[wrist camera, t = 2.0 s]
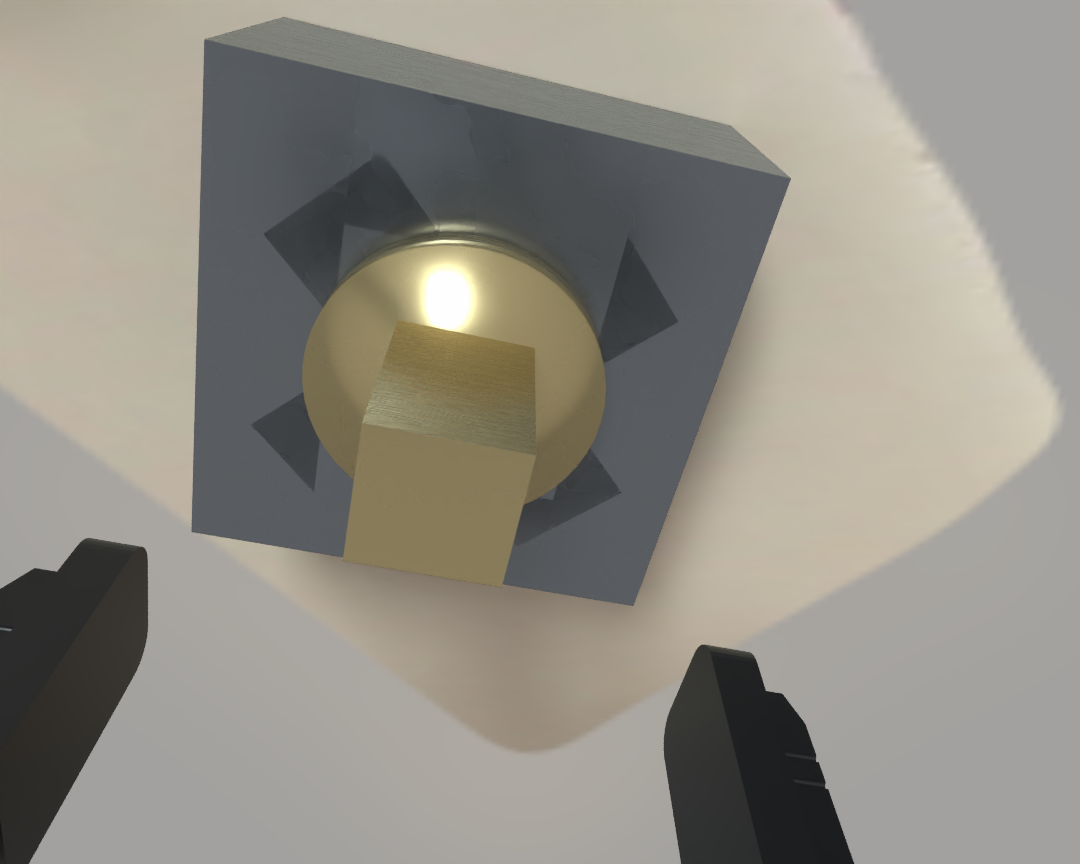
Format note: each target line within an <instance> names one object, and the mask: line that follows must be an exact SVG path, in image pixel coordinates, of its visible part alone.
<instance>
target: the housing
mask: <svg viewBox="0 0 1080 864" xmlns="http://www.w3.org/2000/svg"><path fill="white" fill-rule="evenodd" d="M790 180H791V178H790V177H789V176H788V175H786V174H785V173H784V172H783V171H782V170H781V169H780V168H778V167H777V166H776V165H775V164H774V163H773V162H772V161H770V160H769V159H768V158H767V157H766V156H765V155H764V154H762V153H761V152H760V151H759V150H758V149H757V148H756V147H754V146H753V145H752V144H751V143H750V142H749V141H748V140H746V139H745V138H744V137H743V136H742V135H741V134H740V133H738V132H737V131H736V130H735V129H734V128H733V127H732V126H729V125H725V124H721V123H717V122H713V121H709V120H704V119H700V118H696V117H692V116H688V115H684V114H680V113H676V112H671V111H667V110H663V109H659V108H655V107H651V106H647V105H643V104H639V103H634V102H630V101H626V100H622V99H618V98H614V97H610V96H606V95H602V94H597V93H593V92H589V91H585V90H581V89H577V88H573V87H569V86H564V85H560V84H556V83H552V82H548V81H544V80H540V79H536V78H532V77H527V76H523V75H519V74H515V73H511V72H507V71H503V70H499V69H495V68H490V67H486V66H482V65H478V64H474V63H470V62H466V61H462V60H457V59H453V58H449V57H445V56H441V55H437V54H433V53H429V52H425V51H420V50H416V49H412V48H408V47H404V46H400V45H396V44H392V43H388V42H383V41H379V40H375V39H371V38H367V37H363V36H359V35H355V34H351V33H346V32H342V31H338V30H334V29H330V28H326V27H322V26H318V25H313V24H309V23H305V22H301V21H297V20H293V19H289V18H285V17H282V18H279V19H275V20H272V21H268V22H265V23H261V24H257V25H254V26H250V27H247V28H243V29H240V30H236V31H232V32H229V33H225V34H222V35H218V36H215V37H211V38H207V39H205V41H204V79H203V117H202V155H201V193H200V231H199V270H198V308H197V346H196V384H195V422H194V460H193V498H192V532H195V533H201V534H207V535H213V536H219V537H225V538H231V539H237V540H243V541H249V542H255V543H261V544H267V545H273V546H279V547H285V548H291V549H297V550H303V551H308V552H314V553H320V554H326V555H332V556H338V557H343V555H344V548H345V540H346V533H347V526H348V519H349V512H350V505H351V498H352V490H353V483H354V479H353V478H351V477H350V476H349V475H348V474H347V473H346V472H345V471H344V470H343V469H342V468H341V467H340V466H339V465H338V464H337V463H336V462H335V461H334V459H333V458H332V457H331V456H330V454H329V453H328V452H327V450H326V449H325V448H324V446H323V444H322V443H321V441H320V439H319V437H318V436H317V434H316V432H315V430H314V427H313V425H312V423H311V420H310V418H309V415H308V411H307V408H306V404H305V400H304V393H303V385H302V367H303V359H304V353H305V348H306V344H307V341H308V338H309V335H310V332H311V329H312V327H313V325H314V324H315V322H316V320H317V318H318V316H319V314H320V312H321V310H322V309H323V307H324V305H325V303H326V302H327V300H328V298H329V296H330V295H331V293H332V292H333V291H334V289H335V288H336V287H337V285H338V284H339V282H340V281H341V280H342V279H343V278H344V277H345V276H346V275H347V274H348V273H349V272H350V271H351V270H352V269H353V268H354V267H355V266H357V265H358V264H359V263H360V262H362V261H363V260H364V259H366V258H367V257H368V256H370V255H372V254H374V253H375V252H377V251H379V250H381V249H383V248H384V247H386V246H389V245H391V244H394V243H396V242H399V241H402V240H404V239H408V238H412V237H416V236H421V235H426V234H435V233H444V232H446V233H469V234H475V235H482V236H487V237H491V238H494V239H498V240H501V241H505V242H507V243H510V244H512V245H514V246H517V247H519V248H521V249H524V250H526V251H527V252H529V253H531V254H532V255H534V256H536V257H537V258H539V259H541V260H542V261H544V262H545V263H546V264H547V265H549V266H550V267H551V268H553V269H554V270H555V271H556V272H558V273H559V274H560V275H561V277H562V278H563V279H564V280H565V281H566V282H567V283H568V284H569V285H570V286H571V287H572V288H573V290H574V291H575V292H576V294H577V295H578V296H579V298H580V299H581V300H582V302H583V304H584V305H585V307H586V309H587V311H588V313H589V315H590V316H591V318H592V321H593V324H594V326H595V329H596V332H597V334H598V339H599V343H600V348H601V352H602V358H603V363H604V369H605V381H606V396H605V407H604V411H603V416H602V420H601V424H600V426H599V429H598V432H597V434H596V437H595V439H594V441H593V443H592V445H591V446H590V448H589V450H588V452H587V454H586V455H585V456H584V458H583V459H582V460H581V462H580V463H579V464H578V466H577V467H576V468H575V469H574V470H573V471H572V472H571V473H570V474H569V475H568V476H567V477H566V478H565V479H564V480H563V481H562V482H561V483H559V484H558V485H557V486H555V487H554V488H553V489H552V490H550V491H549V492H547V493H545V494H544V495H542V496H540V497H539V498H537V499H535V500H533V501H531V502H529V503H527V504H524V505H523V508H522V512H521V516H520V519H519V523H518V527H517V531H516V535H515V538H514V542H513V546H512V550H511V554H510V557H509V561H508V565H507V569H506V573H505V576H504V580H503V584H505V585H511V586H517V587H523V588H529V589H535V590H541V591H547V592H553V593H559V594H565V595H571V596H577V597H583V598H589V599H595V600H601V601H607V602H613V603H619V604H625V605H631V606H633V605H634V602H635V599H636V597H637V594H638V591H639V589H640V586H641V583H642V581H643V578H644V575H645V572H646V570H647V567H648V564H649V562H650V559H651V556H652V553H653V551H654V548H655V545H656V543H657V540H658V537H659V534H660V532H661V529H662V526H663V524H664V521H665V518H666V516H667V513H668V510H669V507H670V505H671V502H672V499H673V497H674V494H675V491H676V488H677V486H678V483H679V480H680V478H681V475H682V472H683V469H684V467H685V464H686V461H687V459H688V456H689V453H690V450H691V448H692V445H693V442H694V440H695V437H696V434H697V432H698V429H699V426H700V423H701V421H702V418H703V415H704V413H705V410H706V407H707V404H708V402H709V399H710V396H711V394H712V391H713V388H714V385H715V383H716V380H717V377H718V375H719V372H720V369H721V367H722V364H723V361H724V358H725V356H726V353H727V350H728V348H729V345H730V342H731V339H732V337H733V334H734V331H735V329H736V326H737V323H738V320H739V318H740V315H741V312H742V310H743V307H744V304H745V301H746V299H747V296H748V293H749V291H750V288H751V285H752V283H753V280H754V277H755V274H756V272H757V269H758V266H759V264H760V261H761V258H762V255H763V253H764V250H765V247H766V245H767V242H768V239H769V236H770V234H771V231H772V228H773V226H774V223H775V220H776V218H777V215H778V212H779V209H780V207H781V204H782V201H783V199H784V196H785V193H786V190H787V188H788V185H789V182H790Z"/></svg>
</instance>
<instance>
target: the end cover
mask: <svg viewBox="0 0 1080 864" xmlns="http://www.w3.org/2000/svg"><path fill="white" fill-rule="evenodd" d="M302 385H303V393H304V400H305V404H306V408H307V411H308V415H309V418H310V420H311V423H312V425H313V427H314V430H315V432H316V434H317V436H318V437H319V439H320V441H321V443H322V444H323V446H324V448H325V449H326V450H327V452H328V453H329V454H330V456H331V457H332V458H333V459H334V461H335V462H336V463H337V464H338V465H339V466H340V467H341V468H342V469H343V470H344V471H345V472H346V473H347V474H348V475H349V476H350V477H351V478H353V479H354V483H353V490H352V498H351V505H350V512H349V519H348V526H347V533H346V540H345V548H344V555H343V561H347V562H353V563H359V564H365V565H371V566H377V567H383V568H389V569H395V570H401V571H407V572H413V573H418V574H424V575H430V576H436V577H442V578H448V579H454V580H460V581H466V582H472V583H478V584H484V585H490V586H496V587H502V584H503V580H504V576H505V573H506V569H507V565H508V561H509V557H510V554H511V550H512V546H513V542H514V538H515V535H516V531H517V527H518V523H519V519H520V516H521V512H522V508H523V505H524V504H527V503H529V502H531V501H533V500H535V499H537V498H539V497H540V496H542V495H544V494H545V493H547V492H549V491H550V490H552V489H553V488H554V487H555V486H557V485H558V484H559V483H561V482H562V481H563V480H564V479H565V478H566V477H567V476H568V475H569V474H570V473H571V472H572V471H573V470H574V469H575V468H576V467H577V466H578V464H579V463H580V462H581V460H582V459H583V458H584V456H585V455H586V454H587V452H588V450H589V448H590V446H591V445H592V443H593V441H594V439H595V437H596V434H597V432H598V429H599V426H600V424H601V420H602V416H603V411H604V407H605V396H606V381H605V369H604V363H603V358H602V352H601V348H600V343H599V339H598V334H597V332H596V329H595V326H594V324H593V321H592V318H591V316H590V315H589V313H588V311H587V309H586V307H585V305H584V304H583V302H582V300H581V299H580V298H579V296H578V295H577V294H576V292H575V291H574V290H573V288H572V287H571V286H570V285H569V284H568V283H567V282H566V281H565V280H564V279H563V278H562V277H561V275H560V274H559V273H558V272H556V271H555V270H554V269H553V268H551V267H550V266H549V265H547V264H546V263H545V262H544V261H542V260H541V259H539V258H537V257H536V256H534V255H532V254H531V253H529V252H527V251H526V250H524V249H521V248H519V247H517V246H514V245H512V244H510V243H507V242H505V241H501V240H498V239H494V238H491V237H487V236H482V235H475V234H469V233H446V232H444V233H435V234H426V235H421V236H416V237H412V238H408V239H404V240H402V241H399V242H396V243H394V244H391V245H389V246H386V247H384V248H383V249H381V250H379V251H377V252H375V253H374V254H372V255H370V256H368V257H367V258H366V259H364V260H363V261H362V262H360V263H359V264H358V265H357V266H355V267H354V268H353V269H352V270H351V271H350V272H349V273H348V274H347V275H346V276H345V277H344V278H343V279H342V280H341V281H340V282H339V284H338V285H337V287H336V288H335V289H334V291H333V292H332V293H331V295H330V296H329V298H328V300H327V302H326V303H325V305H324V307H323V309H322V310H321V312H320V314H319V316H318V318H317V320H316V322H315V324H314V325H313V327H312V329H311V332H310V335H309V338H308V341H307V344H306V348H305V353H304V359H303V367H302Z"/></svg>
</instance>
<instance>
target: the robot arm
mask: <svg viewBox="0 0 1080 864" xmlns="http://www.w3.org/2000/svg"><path fill="white" fill-rule="evenodd" d="M147 632H148V560H147V552H146V550H145V548H143V547H139V546H133V545H127V544H121V543H116V542H110V541H104V540H98V539H92V538H86V539H84V540H83V541H82V542H80V544H79V545H78V546H77V547H76V548H75V550H74V551H73V552H72V553H71V555H70V556H69V557H68V559H67V560H66V561H65V562H64V564H63V565H62V566H61V568H60V569H59V570H58V571H57V572H55V571H49V570H42V569H36V568H35V569H33V570H31V571H29V572H28V573H26V574H24V575H23V576H21V577H19V578H18V579H16V580H14V581H13V582H11V583H9V584H8V585H6V586H4V587H3V588H1V589H0V864H29V862H30V860H31V859H32V857H33V855H34V853H35V851H36V850H37V848H38V846H39V844H40V842H41V841H42V839H43V837H44V835H45V834H46V831H47V830H48V828H49V826H50V825H51V823H52V821H53V819H54V817H55V816H56V814H57V812H58V810H59V808H60V807H61V805H62V803H63V801H64V800H65V798H66V796H67V794H68V793H69V791H70V789H71V787H72V785H73V784H74V782H75V780H76V778H77V776H78V775H79V773H80V771H81V769H82V768H83V766H84V764H85V762H86V760H87V759H88V757H89V755H90V753H91V751H92V750H93V748H94V746H95V744H96V742H97V741H98V739H99V737H100V735H101V734H102V732H103V730H104V728H105V726H106V725H107V723H108V721H109V719H110V718H111V716H112V713H113V712H114V710H115V708H116V707H117V705H118V703H119V701H120V700H121V698H122V696H123V694H124V693H125V691H126V689H127V687H128V685H129V684H130V682H131V680H132V678H133V676H134V674H135V673H136V671H137V668H138V666H139V664H140V661H141V658H142V655H143V652H144V648H145V644H146V639H147ZM664 758H665V763H666V770H667V777H668V783H669V790H670V795H671V802H672V808H673V815H674V821H675V827H676V834H677V840H678V846H679V852H680V858H681V864H854V862H853V859H852V856H851V853H850V851H849V848H848V845H847V842H846V839H845V836H844V834H843V831H842V828H841V825H840V822H839V819H838V816H837V813H836V811H835V808H834V805H833V802H832V799H831V796H830V793H829V790H828V789H825V783H826V782H825V779H824V776H823V773H822V770H821V768H820V765H819V762H816V753H815V750H814V747H813V745H812V742H811V739H810V736H809V733H808V731H807V727H806V725H805V723H804V722H803V720H802V719H801V718H800V717H799V715H798V714H797V712H796V711H795V710H794V708H793V707H792V706H791V705H790V704H789V702H788V701H787V699H786V698H785V697H784V695H783V694H781V693H774V692H769V691H766V690H765V687H764V684H763V680H762V677H761V674H760V671H759V667H758V664H757V661H756V659H755V657H754V655H753V654H752V653H750V652H745V651H739V650H733V649H727V648H721V647H715V646H709V645H701V646H699V647H698V648H697V650H696V652H695V654H694V656H693V658H692V661H691V663H690V665H689V668H688V670H687V672H686V675H685V677H684V679H683V682H682V684H681V686H680V689H679V691H678V693H677V696H676V698H675V700H674V703H673V705H672V707H671V710H670V712H669V715H668V718H667V722H666V727H665V734H664Z"/></svg>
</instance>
